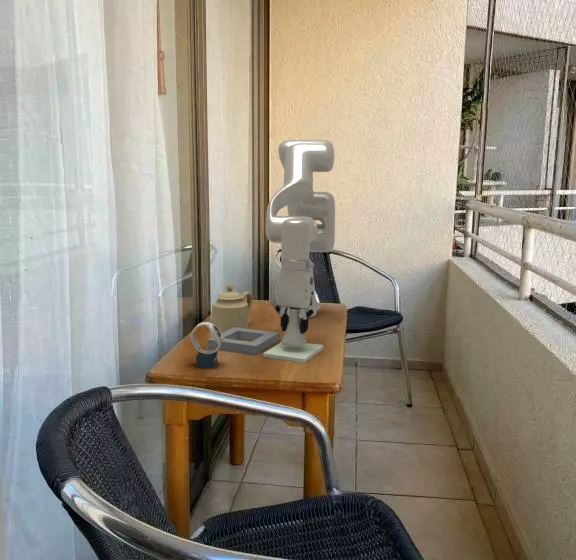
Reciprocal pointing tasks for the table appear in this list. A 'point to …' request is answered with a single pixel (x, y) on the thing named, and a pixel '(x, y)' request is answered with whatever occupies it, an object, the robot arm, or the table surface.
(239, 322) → the sugar bowl
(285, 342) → the flask
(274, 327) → the table surface
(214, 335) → the watch
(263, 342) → the frame
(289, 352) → the sage mat
